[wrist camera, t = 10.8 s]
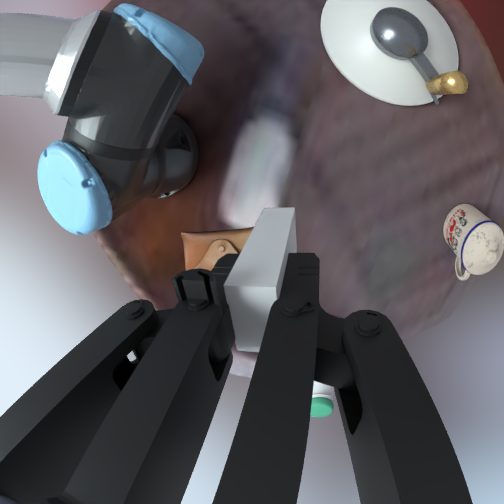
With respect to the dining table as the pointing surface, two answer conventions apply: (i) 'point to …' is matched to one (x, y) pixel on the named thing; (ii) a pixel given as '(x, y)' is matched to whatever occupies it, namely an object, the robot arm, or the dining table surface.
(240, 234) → the sunglasses case
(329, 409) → the milk bottle
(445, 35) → the dial plate
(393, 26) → the lever
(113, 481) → the robot arm
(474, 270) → the teacup with lid
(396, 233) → the dining table surface
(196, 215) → the dining table surface
